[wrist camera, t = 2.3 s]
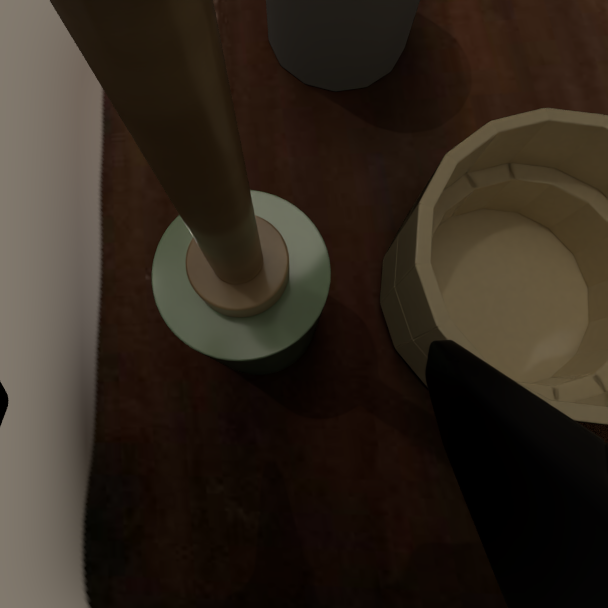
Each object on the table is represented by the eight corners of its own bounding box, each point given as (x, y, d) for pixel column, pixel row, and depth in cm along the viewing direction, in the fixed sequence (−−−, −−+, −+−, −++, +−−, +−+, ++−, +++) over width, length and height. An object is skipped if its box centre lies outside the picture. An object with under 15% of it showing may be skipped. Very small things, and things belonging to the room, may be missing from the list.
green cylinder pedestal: (340, 326, 22) (367, 286, 14) (247, 399, 21) (221, 399, 13) (270, 239, 23) (259, 158, 15) (177, 306, 22) (115, 255, 14)
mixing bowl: (653, 316, 23) (809, 280, 16) (489, 467, 21) (585, 501, 14) (496, 152, 25) (574, 57, 18) (331, 277, 23) (349, 225, 16)
